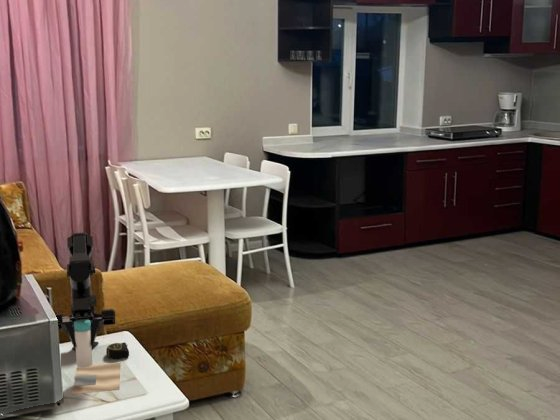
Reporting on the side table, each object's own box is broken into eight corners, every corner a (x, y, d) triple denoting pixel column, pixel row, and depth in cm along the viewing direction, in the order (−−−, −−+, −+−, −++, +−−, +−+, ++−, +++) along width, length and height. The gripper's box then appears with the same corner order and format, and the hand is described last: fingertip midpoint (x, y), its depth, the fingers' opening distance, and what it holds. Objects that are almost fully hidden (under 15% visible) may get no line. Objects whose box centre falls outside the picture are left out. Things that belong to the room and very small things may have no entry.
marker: (82, 359, 200) (80, 318, 197) (96, 362, 199) (93, 320, 196) (73, 366, 196) (70, 323, 193) (86, 368, 194) (84, 326, 192)
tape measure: (129, 360, 214) (129, 349, 213) (107, 363, 212) (106, 351, 211) (127, 351, 220) (127, 340, 219) (105, 354, 218) (105, 343, 217)
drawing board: (77, 367, 208) (77, 365, 208) (120, 364, 210) (120, 362, 210) (71, 395, 191) (71, 393, 190) (119, 391, 193) (119, 389, 193)
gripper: (46, 288, 194) (46, 339, 186) (113, 282, 199) (116, 332, 191) (49, 304, 203) (50, 354, 195) (113, 299, 208) (116, 347, 200)
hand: (83, 346), depth 195 cm, fingers closed on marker, 4 cm apart
